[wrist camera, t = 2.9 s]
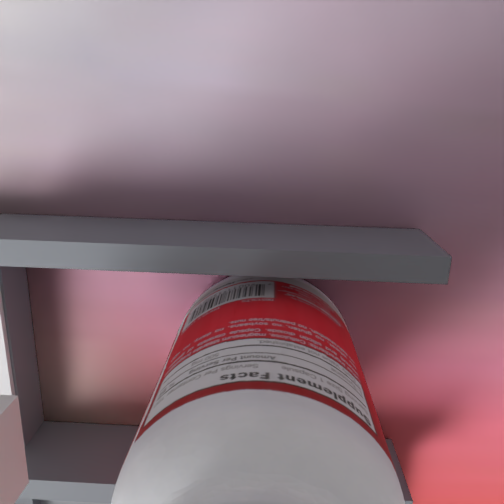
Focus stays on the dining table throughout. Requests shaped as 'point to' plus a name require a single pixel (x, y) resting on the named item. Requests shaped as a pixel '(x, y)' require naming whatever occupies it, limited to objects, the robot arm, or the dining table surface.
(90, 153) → the dining table surface
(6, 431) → the robot arm
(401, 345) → the dining table surface
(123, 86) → the dining table surface
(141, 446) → the pill bottle
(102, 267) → the panel
